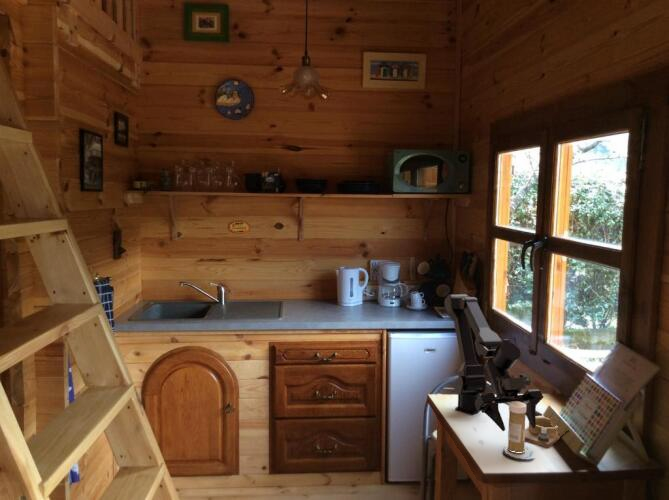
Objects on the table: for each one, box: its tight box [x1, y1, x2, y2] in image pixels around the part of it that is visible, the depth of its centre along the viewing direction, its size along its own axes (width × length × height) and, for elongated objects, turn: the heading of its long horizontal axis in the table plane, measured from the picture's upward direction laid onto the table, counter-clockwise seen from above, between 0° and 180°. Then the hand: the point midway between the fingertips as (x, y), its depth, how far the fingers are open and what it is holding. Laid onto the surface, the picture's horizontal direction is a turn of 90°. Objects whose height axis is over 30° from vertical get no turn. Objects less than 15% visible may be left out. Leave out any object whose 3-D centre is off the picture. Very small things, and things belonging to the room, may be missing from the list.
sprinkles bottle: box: [507, 401, 526, 453], centre depth 154 cm, size 5×5×13 cm
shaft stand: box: [524, 416, 560, 449], centre depth 165 cm, size 9×16×4 cm, turn 138°
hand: (519, 429), depth 152 cm, fingers open, 9 cm apart
